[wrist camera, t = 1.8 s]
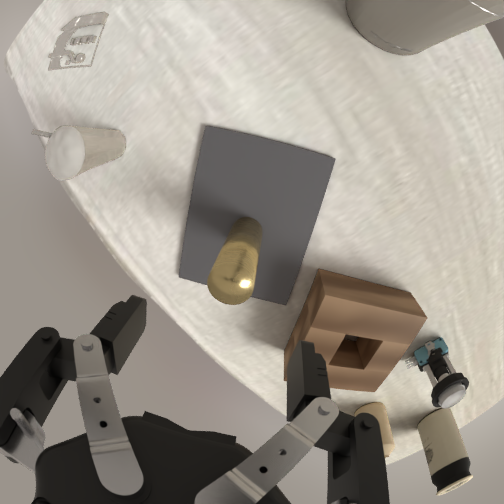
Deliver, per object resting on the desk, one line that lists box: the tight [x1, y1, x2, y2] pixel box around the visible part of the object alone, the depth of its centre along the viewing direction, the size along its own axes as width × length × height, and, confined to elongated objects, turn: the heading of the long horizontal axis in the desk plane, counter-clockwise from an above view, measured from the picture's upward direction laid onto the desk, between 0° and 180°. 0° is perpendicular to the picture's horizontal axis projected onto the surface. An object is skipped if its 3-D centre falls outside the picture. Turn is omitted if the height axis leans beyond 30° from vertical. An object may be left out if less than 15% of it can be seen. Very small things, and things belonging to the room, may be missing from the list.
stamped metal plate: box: [48, 12, 109, 70], centre depth 19 cm, size 8×7×2 cm
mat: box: [179, 126, 335, 305], centre depth 27 cm, size 16×12×1 cm
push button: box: [405, 338, 469, 409], centre depth 27 cm, size 7×5×10 cm
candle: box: [354, 402, 395, 458], centre depth 33 cm, size 6×6×10 cm
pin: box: [207, 217, 263, 305], centre depth 22 cm, size 3×3×10 cm
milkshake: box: [32, 126, 126, 181], centre depth 20 cm, size 5×5×10 cm
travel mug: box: [418, 408, 473, 495], centre depth 31 cm, size 8×8×18 cm
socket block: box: [284, 269, 427, 392], centre depth 28 cm, size 12×12×5 cm
